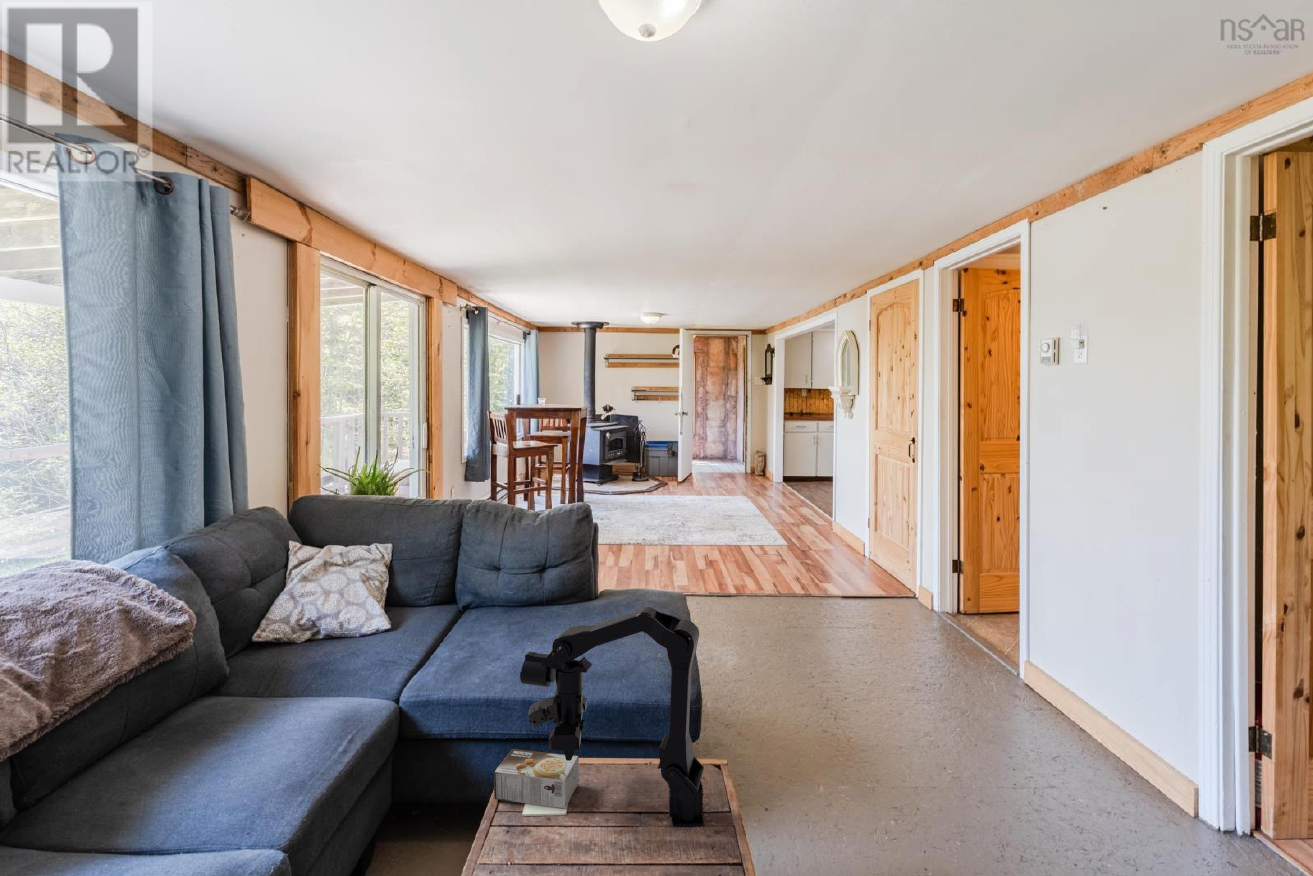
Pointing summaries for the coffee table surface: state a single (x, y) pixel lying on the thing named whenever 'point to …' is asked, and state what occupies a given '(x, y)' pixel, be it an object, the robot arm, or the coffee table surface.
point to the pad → (542, 810)
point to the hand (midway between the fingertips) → (568, 759)
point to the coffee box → (536, 778)
